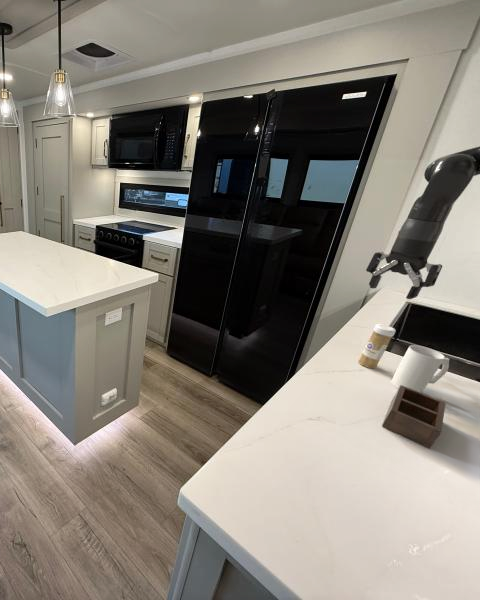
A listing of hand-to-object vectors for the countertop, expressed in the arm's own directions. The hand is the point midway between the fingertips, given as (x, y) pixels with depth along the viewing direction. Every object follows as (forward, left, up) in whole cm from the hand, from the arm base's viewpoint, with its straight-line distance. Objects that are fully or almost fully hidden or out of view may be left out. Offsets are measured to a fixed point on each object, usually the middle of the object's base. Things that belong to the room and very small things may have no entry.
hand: (390, 293), depth 89 cm
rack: (+2, +27, -24) cm, 36 cm away
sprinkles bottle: (-2, +1, -24) cm, 24 cm away
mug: (-8, +11, -24) cm, 28 cm away
